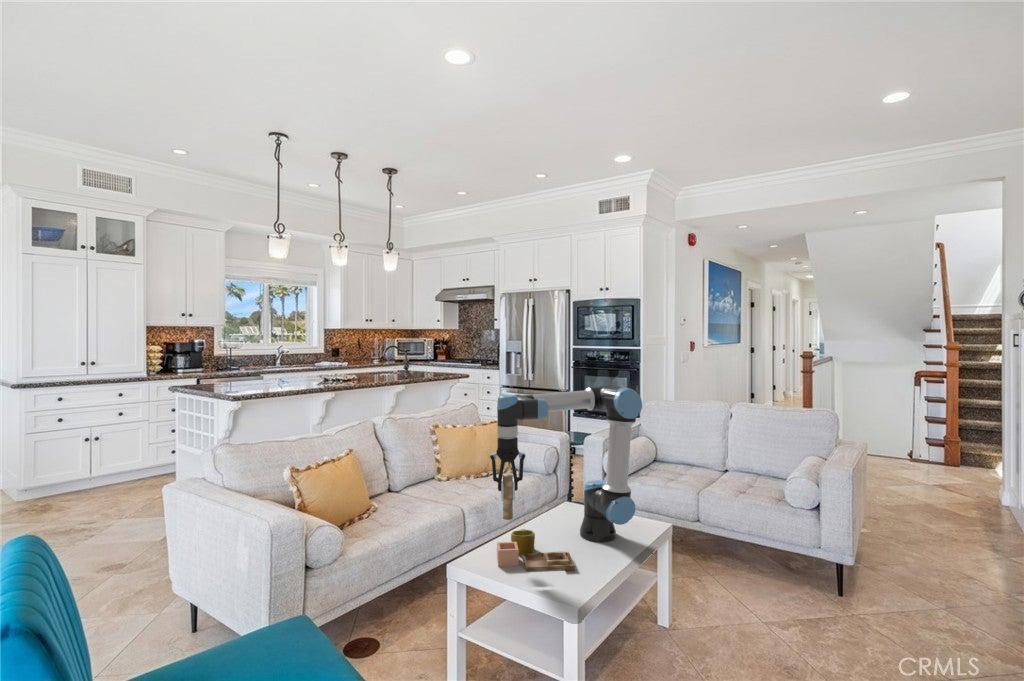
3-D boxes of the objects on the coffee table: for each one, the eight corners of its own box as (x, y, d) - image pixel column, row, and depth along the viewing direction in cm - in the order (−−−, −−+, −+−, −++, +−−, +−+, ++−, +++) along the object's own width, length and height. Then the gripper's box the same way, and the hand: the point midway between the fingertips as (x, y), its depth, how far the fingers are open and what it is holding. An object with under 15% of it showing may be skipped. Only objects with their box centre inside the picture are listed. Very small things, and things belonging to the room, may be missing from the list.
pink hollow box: (516, 559, 205) (516, 541, 205) (518, 568, 198) (518, 549, 197) (496, 560, 204) (496, 542, 204) (498, 569, 197) (498, 550, 197)
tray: (568, 557, 207) (568, 549, 207) (575, 571, 195) (575, 562, 195) (522, 559, 206) (522, 551, 205) (526, 573, 194) (526, 564, 194)
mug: (536, 555, 205) (529, 528, 207) (511, 561, 207) (505, 535, 209) (543, 549, 216) (536, 524, 219) (519, 555, 218) (513, 529, 221)
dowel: (512, 516, 203) (512, 474, 202) (513, 519, 199) (513, 476, 199) (502, 516, 202) (502, 474, 202) (503, 520, 199) (503, 477, 198)
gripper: (528, 434, 205) (528, 495, 205) (484, 435, 203) (485, 497, 204) (531, 438, 197) (531, 501, 198) (485, 439, 196) (486, 503, 196)
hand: (507, 499), depth 201 cm, fingers closed on dowel, 3 cm apart
